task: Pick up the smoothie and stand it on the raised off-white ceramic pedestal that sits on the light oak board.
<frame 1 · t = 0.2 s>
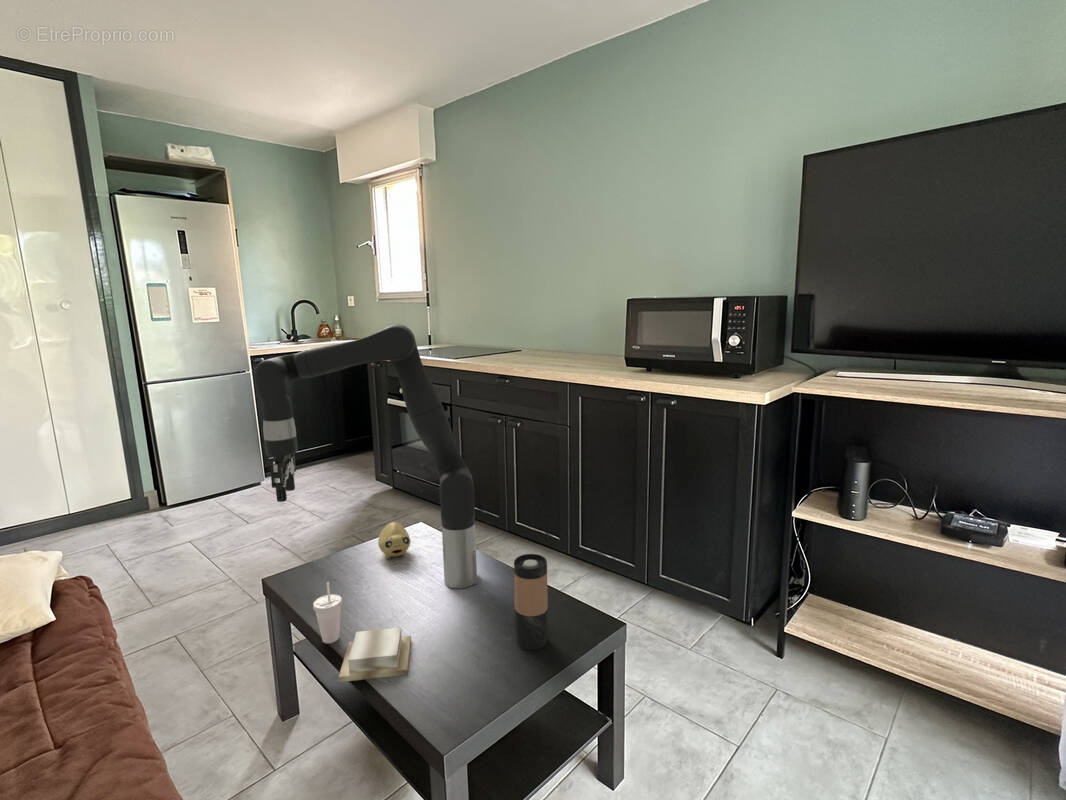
hand: (286, 495, 141), 29 cm above the table, fingers open, 8 cm apart
smoothie: (330, 639, 127), on the table
travel mug: (531, 641, 125), on the table
base: (377, 660, 119), on the table
yellow toy creature: (395, 557, 168), on the table
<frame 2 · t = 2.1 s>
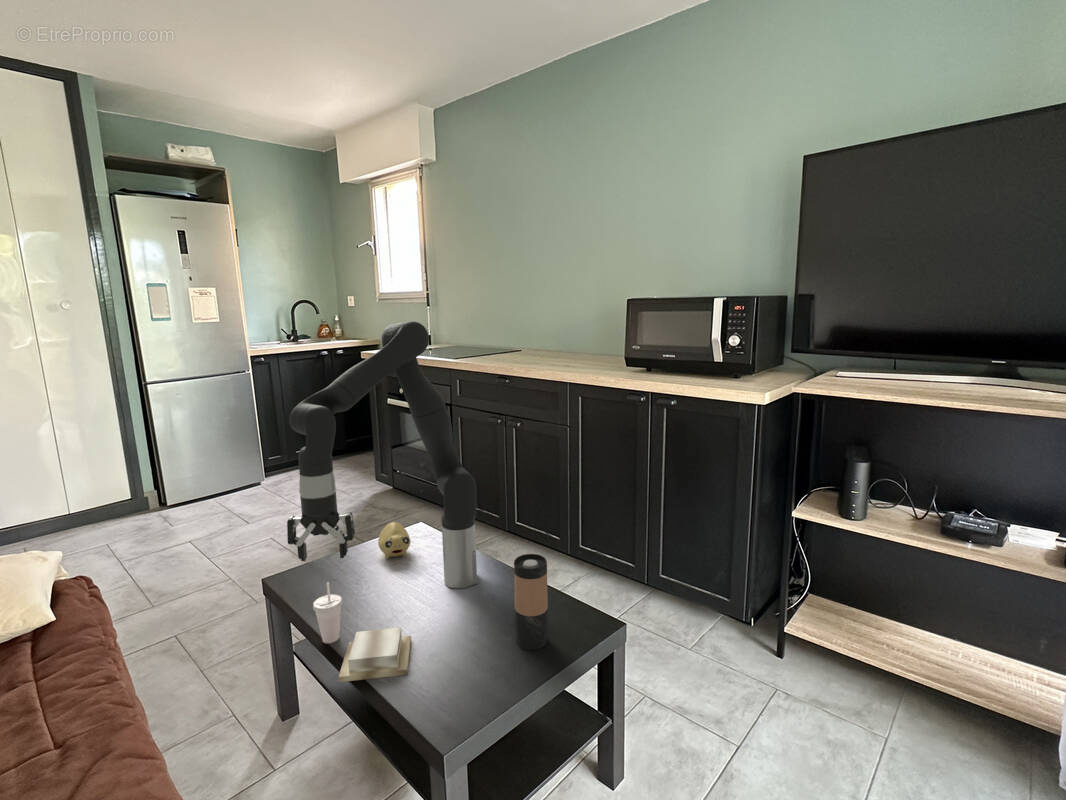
hand: (323, 558, 123), 20 cm above the table, fingers open, 8 cm apart
nothing on the table moved.
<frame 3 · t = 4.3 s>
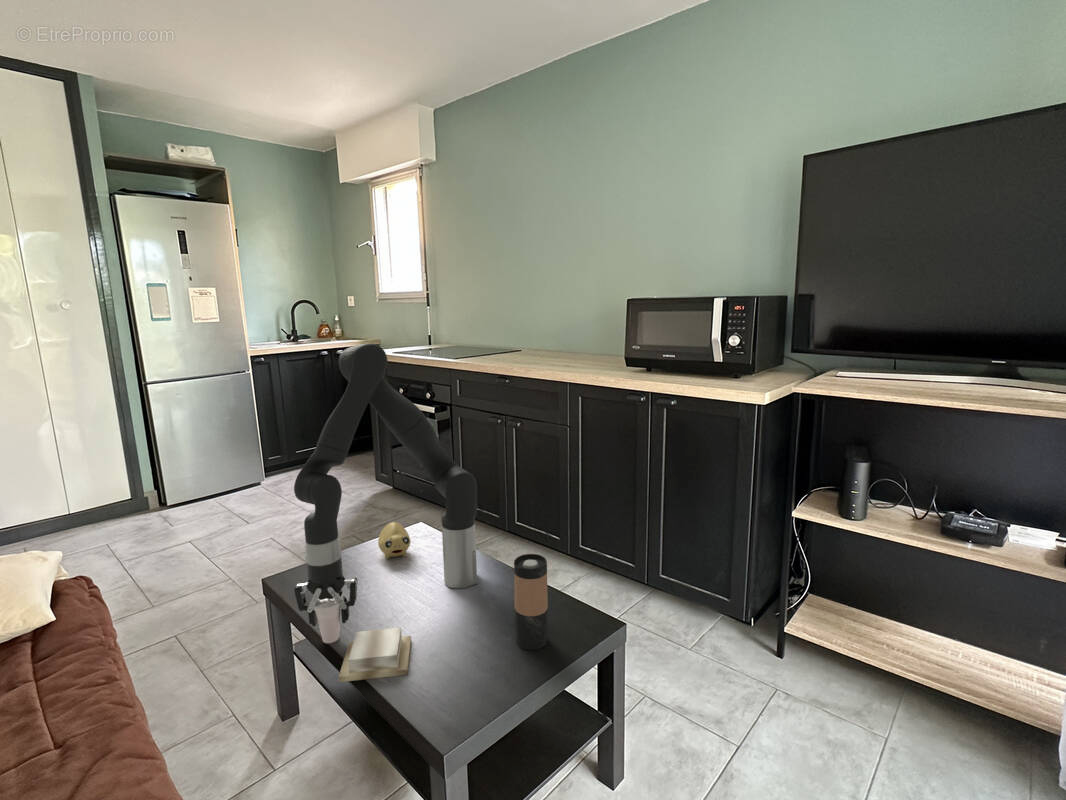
hand: (329, 622, 126), 4 cm above the table, fingers closed on smoothie, 6 cm apart
smoothie: (331, 639, 127), on the table, touching gripper
everything else where it was.
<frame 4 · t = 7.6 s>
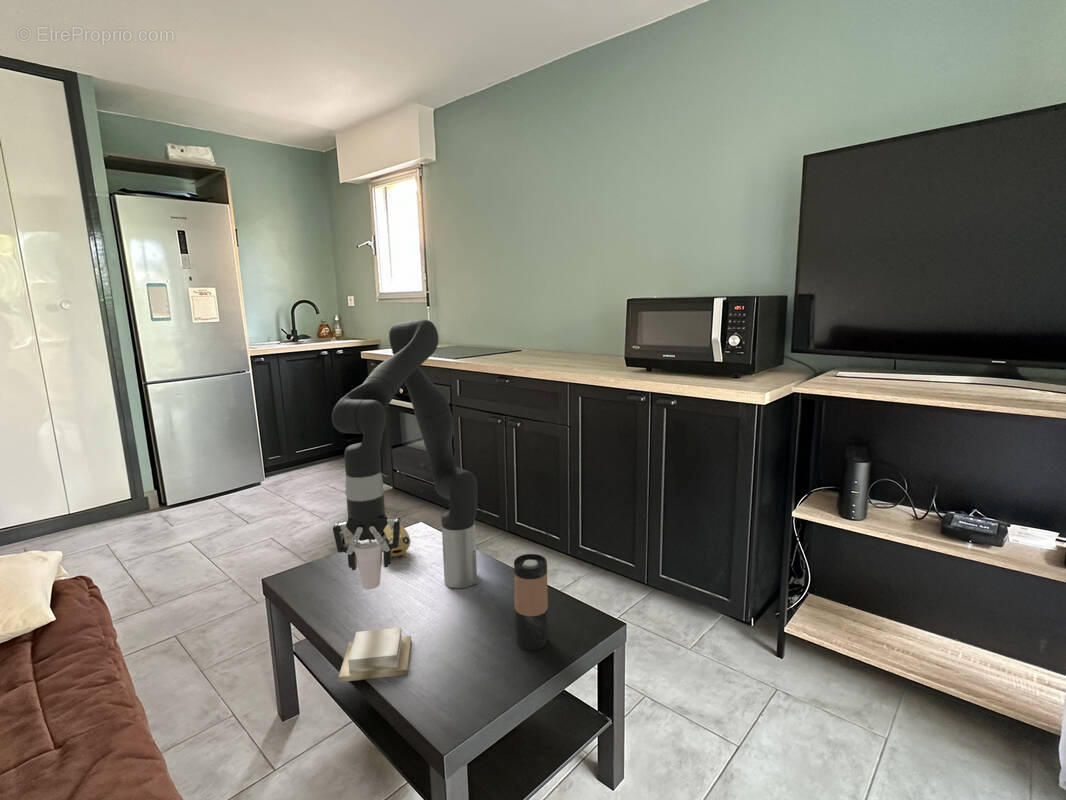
hand: (370, 566, 115), 22 cm above the table, fingers closed on smoothie, 6 cm apart
smoothie: (371, 585, 116), point 18 cm above the table, touching gripper
everything else where it was.
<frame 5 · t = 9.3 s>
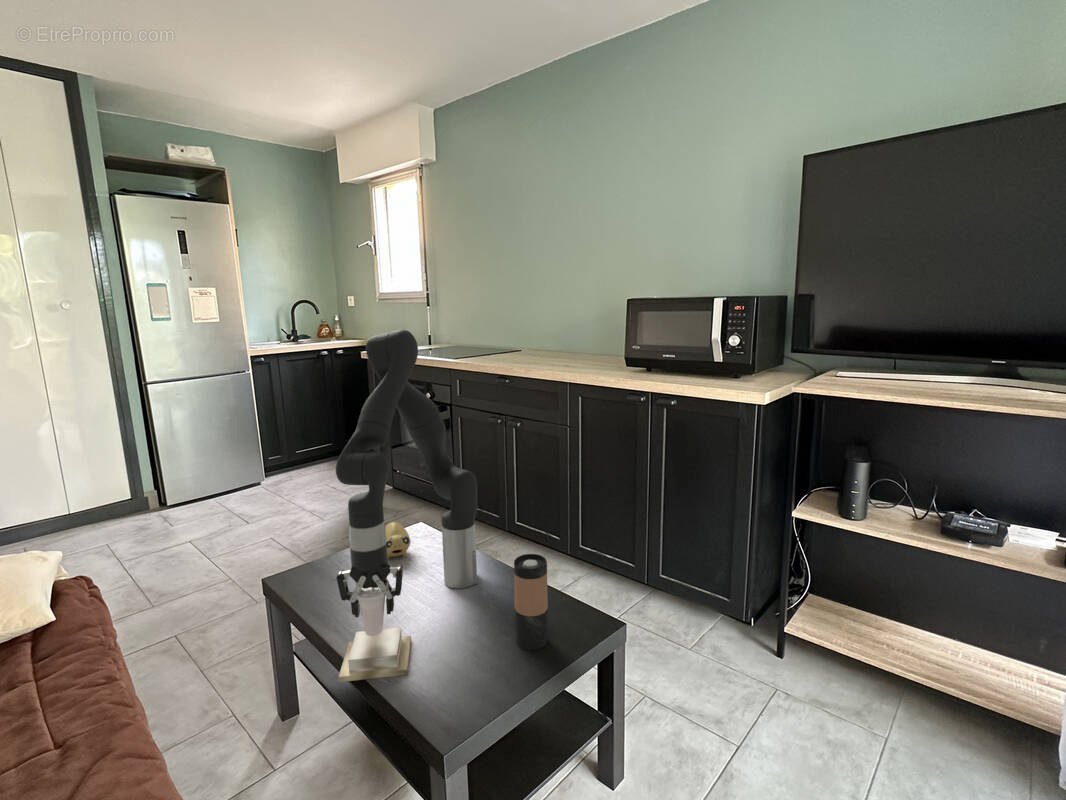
hand: (373, 613, 117), 11 cm above the table, fingers closed on smoothie, 6 cm apart
smoothie: (374, 631, 118), point 7 cm above the table, touching gripper
everything else where it was.
when the fingers open (10 cm above the table, at t = 10.7 s): smoothie drops 1 cm, resting on base.
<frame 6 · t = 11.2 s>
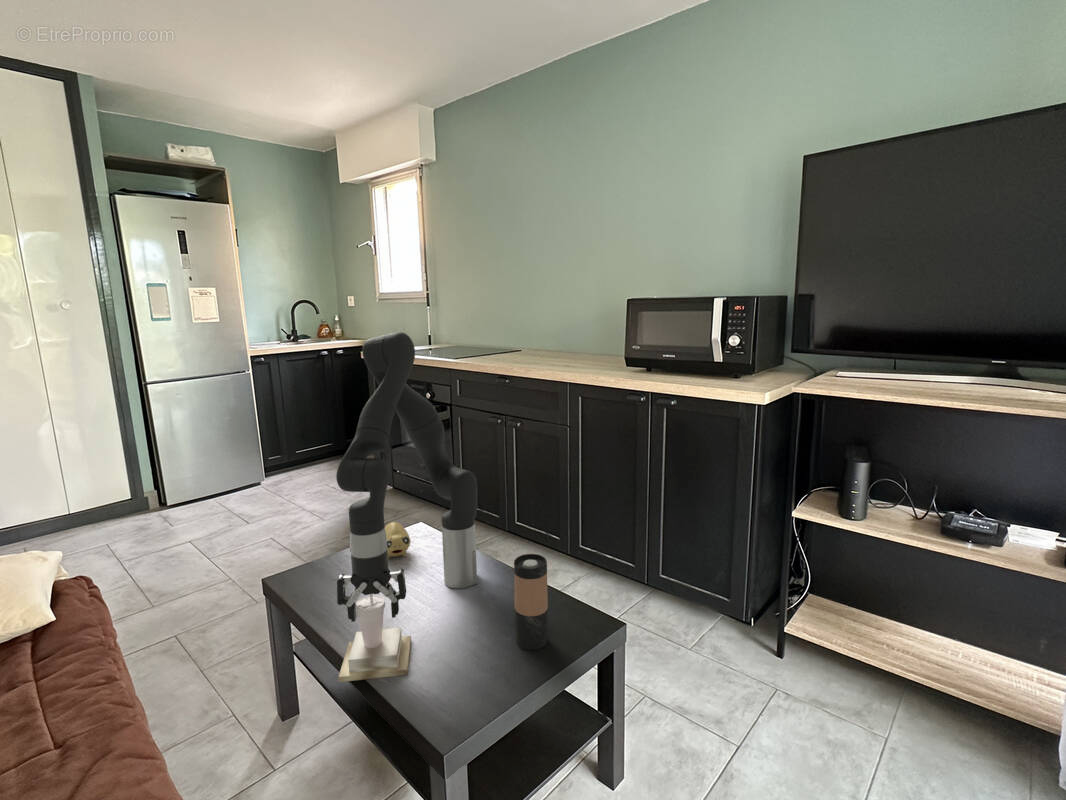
hand: (374, 617, 117), 10 cm above the table, fingers open, 8 cm apart
smoothie: (373, 643, 118), point 4 cm above the table, touching base
everything else where it was.
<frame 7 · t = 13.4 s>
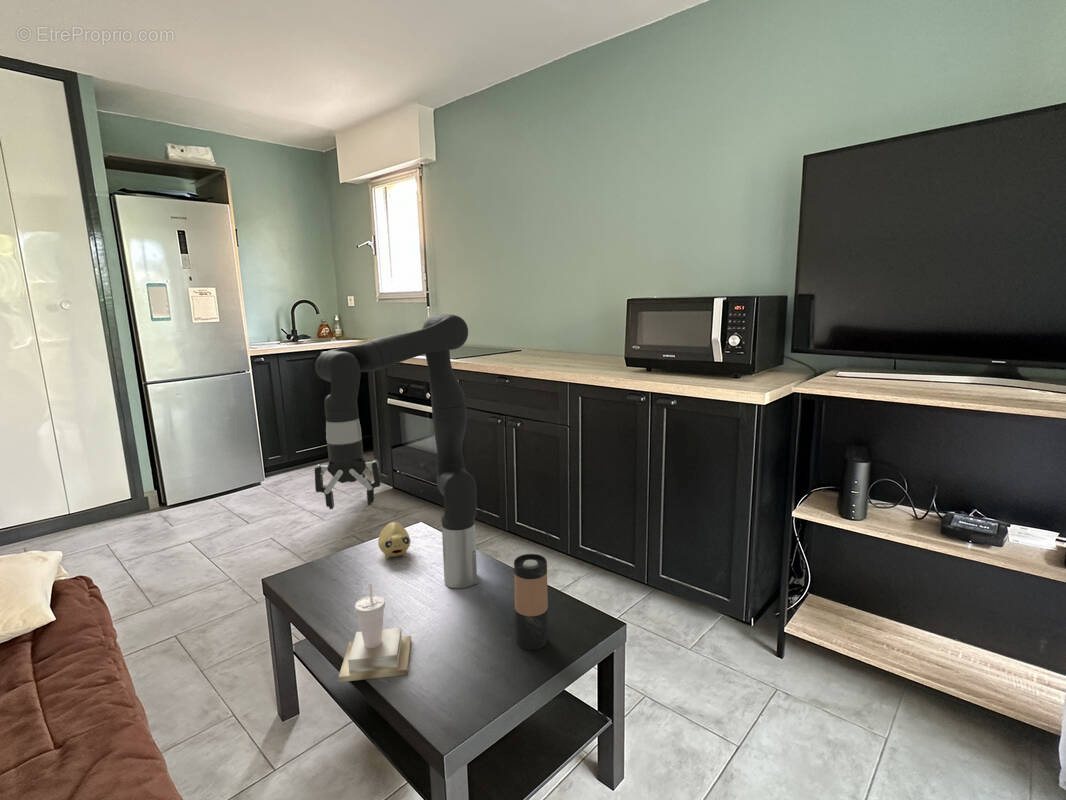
hand: (350, 506, 125), 32 cm above the table, fingers open, 8 cm apart
nothing on the table moved.
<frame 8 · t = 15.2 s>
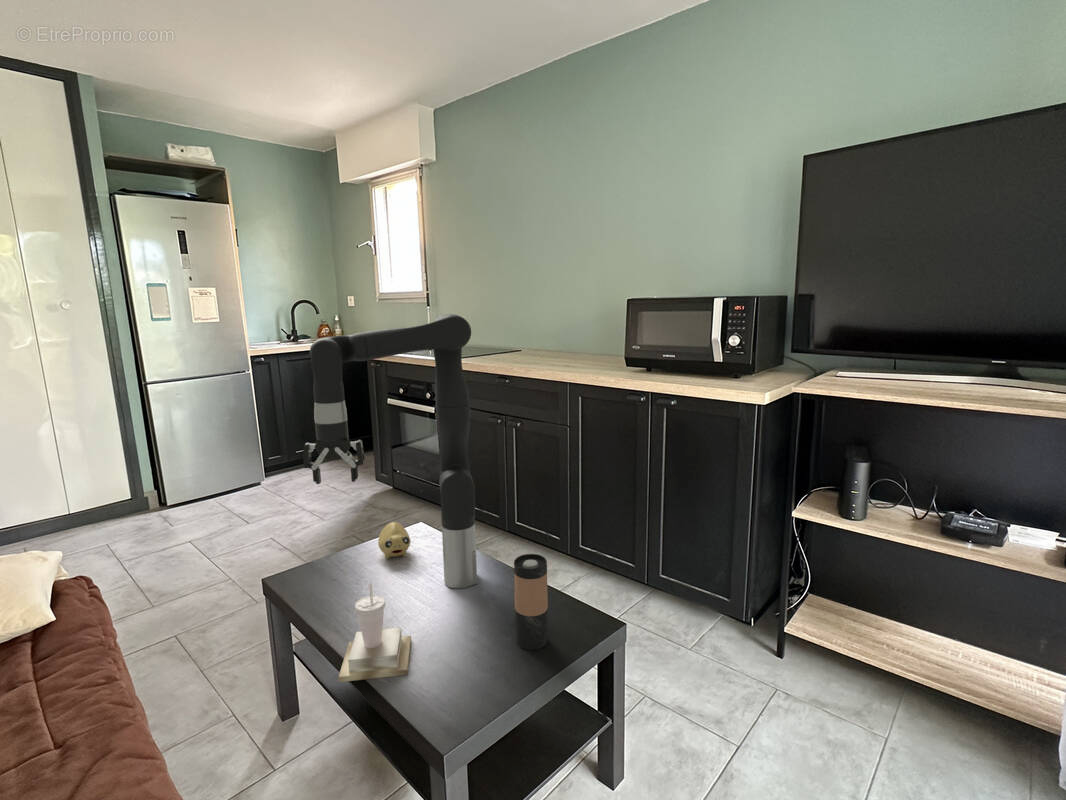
hand: (336, 482, 135), 34 cm above the table, fingers open, 8 cm apart
nothing on the table moved.
at the end: smoothie inside the target area on the base (0.6 cm from its centre), point 4.0 cm above the base's base; smoothie tilted 0°; the gripper is holding nothing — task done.
